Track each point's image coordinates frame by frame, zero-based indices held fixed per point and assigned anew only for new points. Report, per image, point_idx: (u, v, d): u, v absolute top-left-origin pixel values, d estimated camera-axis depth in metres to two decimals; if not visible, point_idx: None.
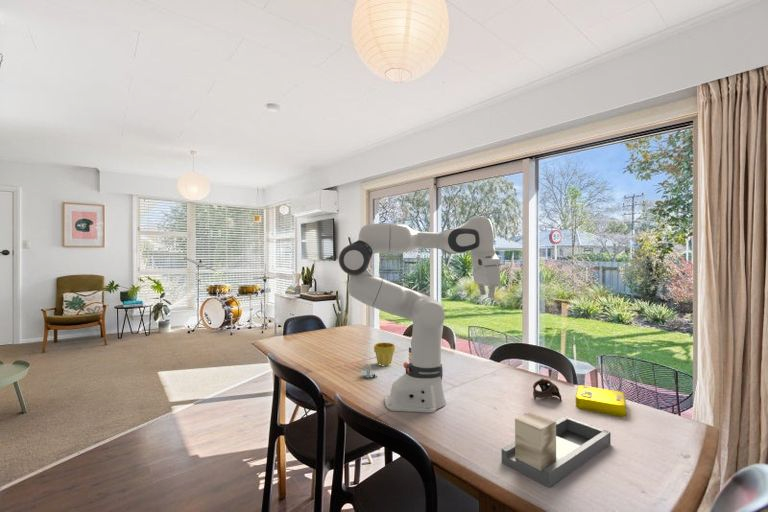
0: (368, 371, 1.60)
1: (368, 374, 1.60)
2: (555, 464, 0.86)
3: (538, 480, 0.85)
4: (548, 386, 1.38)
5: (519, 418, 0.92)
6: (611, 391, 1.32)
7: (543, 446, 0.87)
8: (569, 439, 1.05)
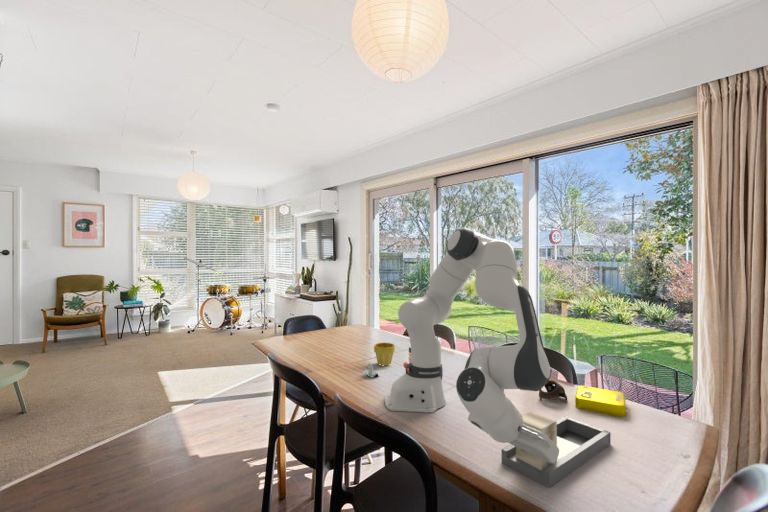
0: (370, 370, 1.61)
1: (370, 373, 1.61)
2: (555, 464, 0.86)
3: (538, 480, 0.85)
4: (554, 387, 1.37)
5: None
6: (611, 391, 1.32)
7: None
8: (569, 439, 1.05)
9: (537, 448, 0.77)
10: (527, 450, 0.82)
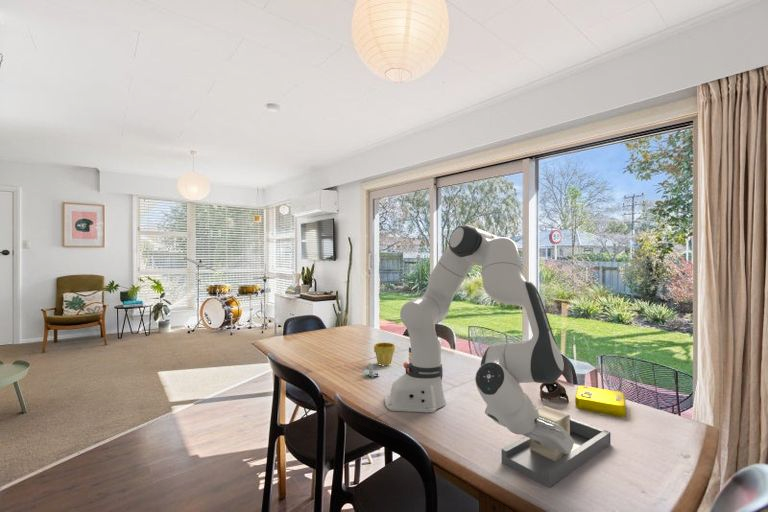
0: (371, 370, 1.61)
1: (371, 373, 1.61)
2: (555, 464, 0.86)
3: (538, 480, 0.85)
4: (555, 387, 1.37)
5: None
6: (611, 391, 1.32)
7: None
8: None
9: (553, 439, 0.80)
10: (543, 441, 0.86)
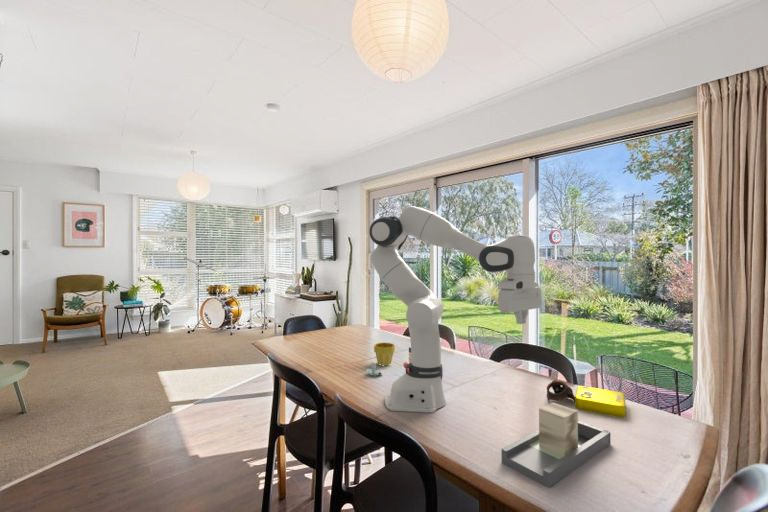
0: (373, 369, 1.62)
1: (373, 372, 1.62)
2: (555, 464, 0.86)
3: (538, 480, 0.85)
4: (561, 388, 1.36)
5: (543, 408, 0.98)
6: (611, 391, 1.31)
7: (567, 433, 0.93)
8: None
9: (539, 289, 1.25)
10: (532, 303, 1.22)
